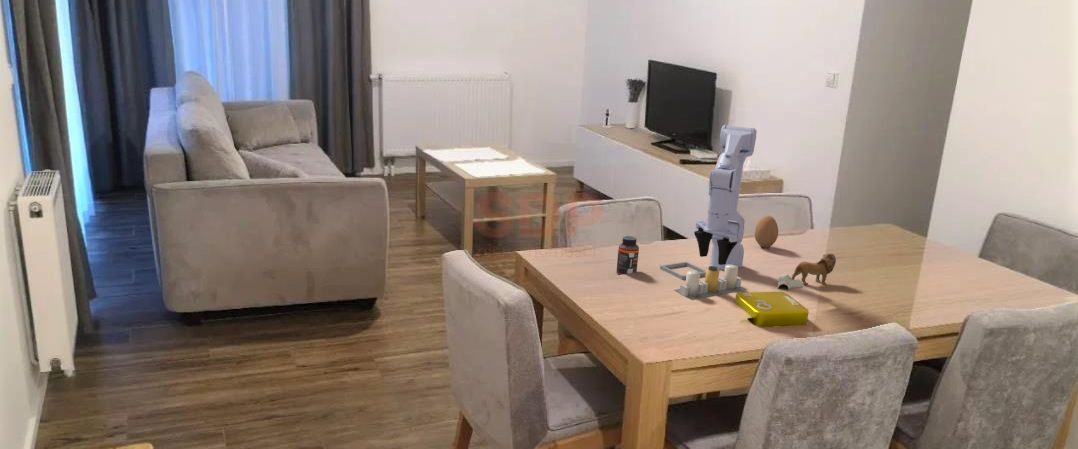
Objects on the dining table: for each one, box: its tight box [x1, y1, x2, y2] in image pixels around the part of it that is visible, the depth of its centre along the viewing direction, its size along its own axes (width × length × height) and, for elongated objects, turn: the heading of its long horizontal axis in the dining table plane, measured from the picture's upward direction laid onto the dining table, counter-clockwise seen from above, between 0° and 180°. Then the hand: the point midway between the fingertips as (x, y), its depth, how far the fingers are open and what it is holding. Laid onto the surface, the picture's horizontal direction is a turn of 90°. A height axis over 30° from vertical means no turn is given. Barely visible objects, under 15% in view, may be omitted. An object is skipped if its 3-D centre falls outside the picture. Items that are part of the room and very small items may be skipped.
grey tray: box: [659, 261, 706, 280], centre depth 253 cm, size 10×10×2 cm
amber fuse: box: [704, 265, 721, 292], centre depth 238 cm, size 4×4×7 cm
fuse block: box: [673, 275, 747, 301], centre depth 239 cm, size 20×8×4 cm, turn 121°
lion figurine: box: [791, 252, 837, 286], centre depth 253 cm, size 15×5×9 cm, turn 111°
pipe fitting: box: [776, 273, 804, 291], centre depth 246 cm, size 8×4×7 cm
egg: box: [754, 215, 779, 249], centre depth 286 cm, size 8×8×11 cm
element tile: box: [734, 291, 809, 328], centre depth 227 cm, size 15×15×5 cm
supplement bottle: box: [616, 235, 640, 276], centre depth 251 cm, size 6×6×11 cm
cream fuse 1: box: [684, 270, 701, 296], centre depth 235 cm, size 4×4×6 cm
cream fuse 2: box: [723, 264, 739, 289], centre depth 242 cm, size 4×4×6 cm
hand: (712, 260), depth 237 cm, fingers open, 7 cm apart
